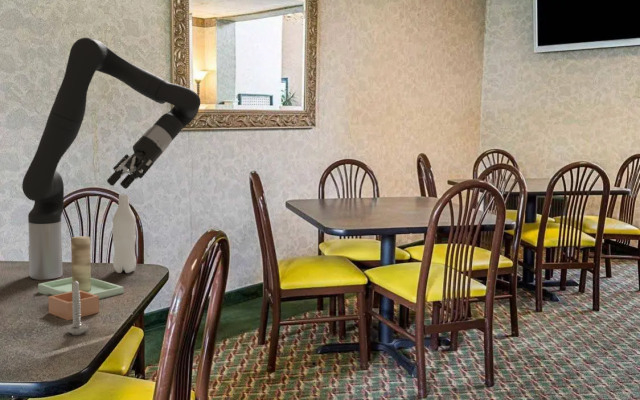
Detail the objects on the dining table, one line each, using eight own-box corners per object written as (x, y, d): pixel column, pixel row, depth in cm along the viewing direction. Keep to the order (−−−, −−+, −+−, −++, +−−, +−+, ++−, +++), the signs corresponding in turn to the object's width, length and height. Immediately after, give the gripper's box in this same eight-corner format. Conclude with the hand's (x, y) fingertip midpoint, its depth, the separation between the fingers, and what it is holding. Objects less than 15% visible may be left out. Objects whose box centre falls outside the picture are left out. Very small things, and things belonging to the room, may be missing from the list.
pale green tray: (38, 292, 179) (38, 283, 179) (82, 283, 190) (82, 274, 190) (78, 306, 167) (78, 297, 167) (123, 295, 178) (123, 286, 178)
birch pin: (68, 290, 178) (67, 237, 176) (84, 287, 182) (84, 235, 180) (78, 293, 175) (77, 240, 173) (94, 290, 179) (94, 238, 177)
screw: (86, 339, 143) (63, 340, 142) (89, 332, 148) (67, 333, 147) (85, 283, 141) (62, 283, 140) (88, 277, 146) (66, 278, 145)
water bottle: (129, 275, 201) (128, 196, 198) (108, 273, 203) (107, 195, 199) (140, 269, 208) (139, 194, 205) (120, 268, 210) (119, 193, 206)
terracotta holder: (48, 316, 159) (48, 296, 158) (79, 308, 166) (79, 289, 165) (68, 323, 154) (67, 303, 153) (99, 315, 160) (99, 296, 160)
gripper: (132, 134, 188) (95, 174, 182) (156, 135, 178) (118, 178, 171) (149, 151, 192) (113, 191, 186) (173, 154, 182) (136, 196, 176)
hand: (116, 185), depth 179 cm, fingers open, 8 cm apart
